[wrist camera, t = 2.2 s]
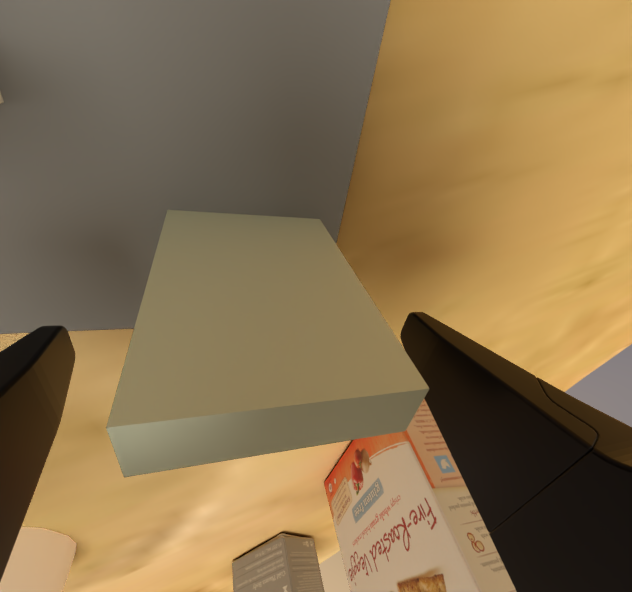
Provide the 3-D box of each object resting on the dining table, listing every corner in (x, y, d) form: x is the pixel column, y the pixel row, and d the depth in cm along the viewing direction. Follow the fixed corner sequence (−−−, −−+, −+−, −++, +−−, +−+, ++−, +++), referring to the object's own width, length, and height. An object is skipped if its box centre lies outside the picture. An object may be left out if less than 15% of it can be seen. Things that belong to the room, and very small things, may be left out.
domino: (313, 252, 15) (405, 431, 8) (171, 248, 13) (124, 477, 6) (319, 218, 14) (429, 388, 7) (167, 209, 12) (106, 427, 5)
